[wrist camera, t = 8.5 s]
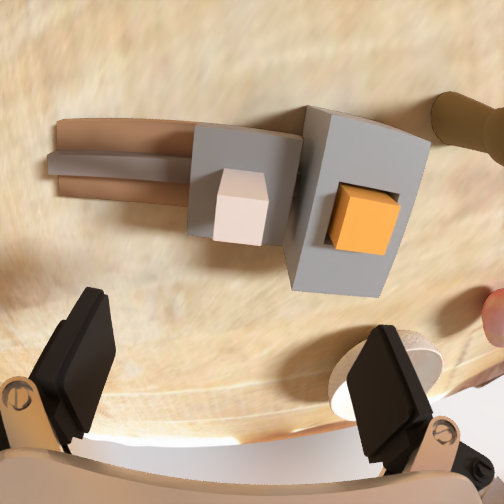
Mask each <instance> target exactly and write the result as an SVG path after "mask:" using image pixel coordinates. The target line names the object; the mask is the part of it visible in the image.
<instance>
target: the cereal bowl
mask: <svg viewBox="0 0 504 504" xmlns="http://www.w3.org/2000/svg"><path fill="white" fill-rule="evenodd" d="M397 332H398V334H399V337H400V339H401V341H402V343H403V345H404V347H405V349H406V351H407V354H408V356H409V358H410V360H411V362H412V364H413V367H414V369H415V371H416V373H417V376H418V378H419V380H420V383H421V385H422V387H423V390H424V392H425V394H427V393H428V392H429V391H430V390H431V389H432V387H433V386H434V385H435V384H436V382H437V381H438V379H439V377H440V376H441V373H442V370H443V358H442V355H441V353H440V352H439V350H438V349H437V347H436V346H435V345H434V344H433V343H432V341H431V340H429V339H428V338H427V337H425V336H424V335H422V334H419V333H417V332H414V331H409V330H407V331H406V330H397ZM366 340H367V339H366ZM366 340H364V341H362V342H361V343H359V344H357V345H356V346H354V347H353V348H352V349H351V350H349V351H348V352H347V353H346V354H345V355H344V356H343V357H342V358H341V359H340V361H339V362H338V363H337V365H336V366H335V368H334V369H333V371H332V373H331V376H330V378H329V383H328V384H329V385H328V397H329V403H330V407H331V410H332V411H333V413H334V414H335V415H337V416H338V417H340V418H342V419H345V420H349V421H356V418H355V414H354V410H353V406H352V402H351V398H350V395H349V391H348V387H347V383H346V378H347V374H348V372H349V371H350V369H351V367H352V366H353V364H354V362H355V360H356V359H357V357H358V355H359V353H360V351H361V350H362V348H363V346H364V344H365V342H366Z"/></svg>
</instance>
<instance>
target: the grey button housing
mask: <svg viewBox="0 0 504 504" xmlns="http://www.w3.org/2000/svg"><path fill="white" fill-rule="evenodd" d="M302 136H303V137H304V144H303V149H302V154H301V159H300V165H299V172H300V173H301V175H302V178H301V183H300V188H299V193H298V197H293V200H292V205H291V210H290V215H289V219H288V221H287V226H286V231H285V235H284V240H283V249H284V254H285V259H286V264H287V269H288V274H289V279H290V284H291V289H292V291H302V292H313V293H324V294H336V295H348V296H360V297H373V298H379V296H380V294H381V291H382V289H383V287H384V284H385V282H386V279H387V277H388V274H389V272H390V269H391V267H392V264H393V262H394V259H395V256H396V254H397V251H398V248H399V246H400V243H401V240H402V238H403V235H404V232H405V229H406V226H407V223H408V220H409V217H410V214H411V211H412V208H413V205H414V202H415V199H416V196H417V192H418V189H419V186H420V182H421V179H422V176H423V172H424V169H425V165H426V161H427V158H428V154H429V150H430V146H431V142H430V141H427V140H425V139H423V138H420V137H418V136H415V135H413V134H410V133H408V132H405V131H403V130H400V129H398V128H395V127H392V126H390V125H387V124H384V123H381V122H377V121H373V120H370V119H366V118H362V117H358V116H354V115H350V114H346V113H342V112H337V111H333V110H328V109H324V108H319V107H314V106H309V105H307V110H306V115H305V121H304V126H303V132H302ZM339 182H344V183H350V184H355V185H360V186H365V187H370V188H375V189H380V190H383V191H385V192H386V193H387V194H388V195H389V196H390V197H391V198H392V199H393V200H394V201H395V202H396V203H398V204H399V205H400V206H401V207H400V211H399V214H398V217H397V220H396V223H395V226H394V229H393V232H392V235H391V238H390V241H389V243H388V246H387V249H386V252H385V255H378V254H370V253H362V252H354V251H347V250H339V249H335V247H334V245H333V242H332V240H331V238H330V236H329V234H328V232H327V228H328V224H329V220H330V216H331V213H332V209H333V205H334V201H335V197H336V193H337V188H338V184H339Z"/></svg>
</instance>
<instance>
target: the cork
mask: <svg viewBox="0 0 504 504" xmlns="http://www.w3.org/2000/svg"><path fill="white" fill-rule="evenodd" d="M431 123H432V127H433V130H434V132H435V134H436V136H437V137H438V138H439V139H440V140H441V141H442V142H444V143H446V144H448V145H453V146H458V147H463V148H467V149H472V150H476V151H481V152H485V153H488V154H489V155H490V156H491V158H492V159H493V160H494V161H496V162H497V163H499V164H500V165H502V166H504V108H498V109H493V108H491V107H489V106H487V105H485V104H483V103H480V102H478V101H476V100H474V99H471V98H469V97H466V96H464V95H462V94H459V93H456V92H451V91H450V92H445V93H443V94H441V95H440V96H439V97H438V98H437V99H436V101H435V102H434V104H433V107H432V110H431Z"/></svg>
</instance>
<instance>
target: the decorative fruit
mask: <svg viewBox="0 0 504 504" xmlns="http://www.w3.org/2000/svg"><path fill="white" fill-rule="evenodd" d="M482 321H483V328H484V331H485V335H486V337H487V339H488V341H489V342H490V343H491V344H492V345H494V346H496V347H504V288H503V289H498V290H496V291H494V292H492V293H491V294H490V295H489V296H488V297H487V299H486V301H485V302H484V305H483V308H482Z"/></svg>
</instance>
